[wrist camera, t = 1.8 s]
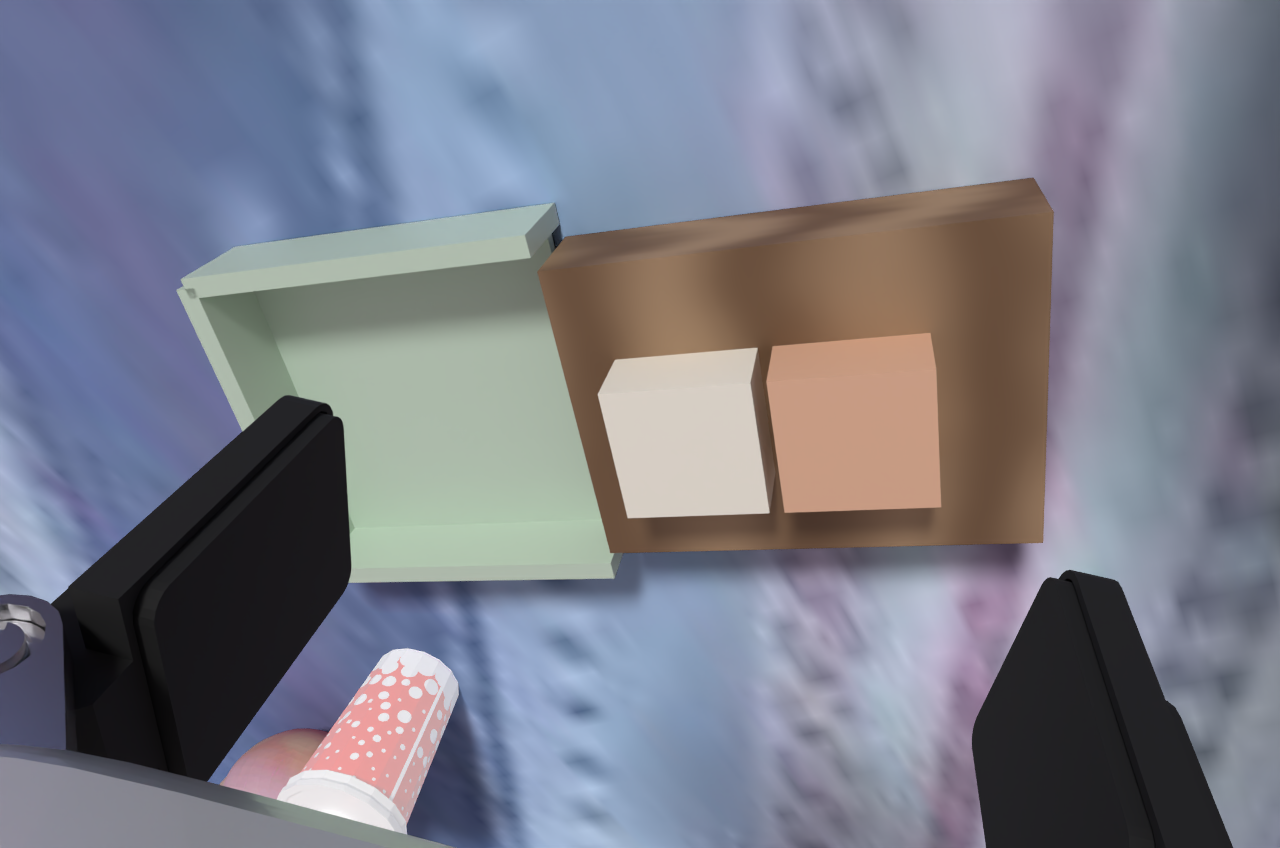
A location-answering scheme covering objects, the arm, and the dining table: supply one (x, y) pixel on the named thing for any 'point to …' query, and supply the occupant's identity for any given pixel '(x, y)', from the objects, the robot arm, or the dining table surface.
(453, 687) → the beverage cup
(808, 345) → the tile terracotta
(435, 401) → the tray
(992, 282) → the walnut board
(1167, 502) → the dining table surface
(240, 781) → the decorative fruit
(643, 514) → the tile cream
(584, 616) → the dining table surface
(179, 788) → the robot arm
